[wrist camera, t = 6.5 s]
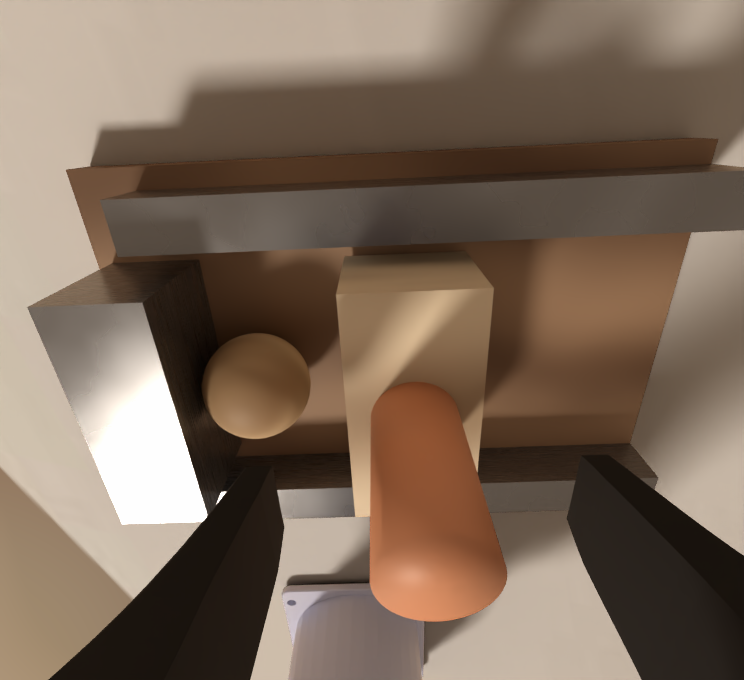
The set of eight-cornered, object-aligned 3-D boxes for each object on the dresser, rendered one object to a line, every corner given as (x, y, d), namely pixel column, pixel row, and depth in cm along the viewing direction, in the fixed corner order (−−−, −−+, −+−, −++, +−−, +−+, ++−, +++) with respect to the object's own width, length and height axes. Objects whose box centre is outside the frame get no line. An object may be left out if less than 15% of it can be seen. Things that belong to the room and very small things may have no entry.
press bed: (605, 464, 20) (675, 565, 15) (187, 478, 21) (133, 580, 16) (691, 138, 14) (852, 142, 9) (88, 166, 14) (-48, 185, 10)
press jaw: (455, 442, 18) (520, 689, 10) (358, 445, 18) (348, 692, 10) (466, 251, 14) (581, 403, 6) (344, 256, 14) (310, 412, 6)
